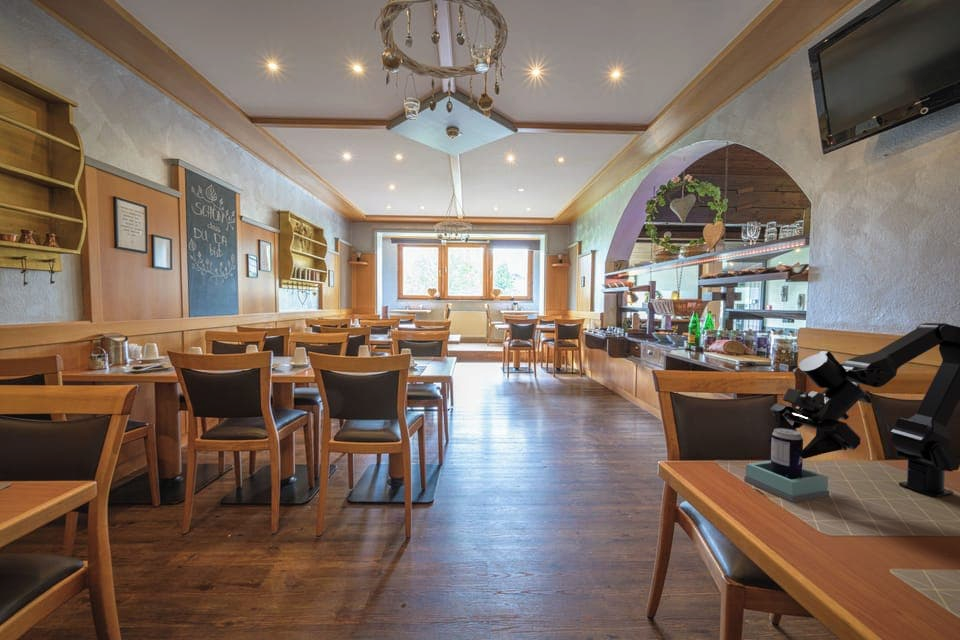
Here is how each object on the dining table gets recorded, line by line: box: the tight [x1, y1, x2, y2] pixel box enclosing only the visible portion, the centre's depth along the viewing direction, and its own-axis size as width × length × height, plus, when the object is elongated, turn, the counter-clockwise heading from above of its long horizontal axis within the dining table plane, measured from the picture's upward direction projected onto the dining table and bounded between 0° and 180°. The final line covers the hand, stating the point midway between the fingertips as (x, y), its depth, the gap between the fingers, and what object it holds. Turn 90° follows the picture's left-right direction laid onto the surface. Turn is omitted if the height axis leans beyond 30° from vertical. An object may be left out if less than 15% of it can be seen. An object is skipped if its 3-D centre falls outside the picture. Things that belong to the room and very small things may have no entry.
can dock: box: [743, 460, 830, 503], centre depth 90 cm, size 11×11×4 cm
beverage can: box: [770, 428, 804, 480], centre depth 90 cm, size 6×6×12 cm
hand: (785, 449), depth 90 cm, fingers open, 9 cm apart
